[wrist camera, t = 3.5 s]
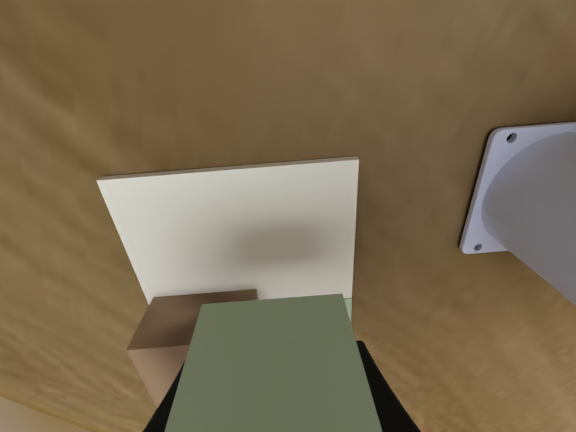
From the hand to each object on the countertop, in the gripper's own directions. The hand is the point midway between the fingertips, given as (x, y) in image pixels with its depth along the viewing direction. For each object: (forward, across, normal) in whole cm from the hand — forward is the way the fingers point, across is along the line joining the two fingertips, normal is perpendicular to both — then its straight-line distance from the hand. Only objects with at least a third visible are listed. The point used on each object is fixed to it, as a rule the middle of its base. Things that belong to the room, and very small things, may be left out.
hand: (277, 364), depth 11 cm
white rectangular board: (+8, +2, +8) cm, 12 cm away
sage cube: (+1, 0, 0) cm, 1 cm away
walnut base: (+8, +5, +7) cm, 12 cm away
